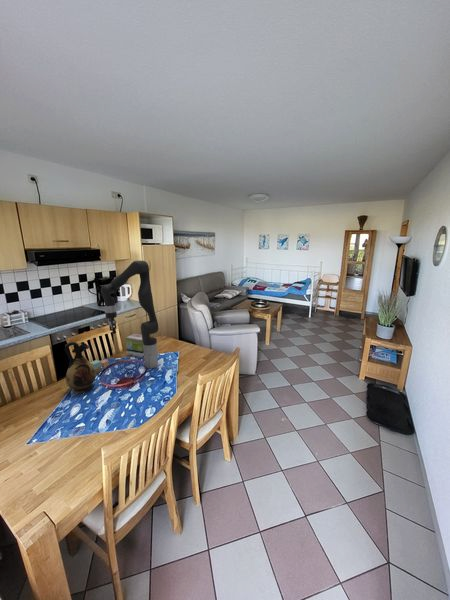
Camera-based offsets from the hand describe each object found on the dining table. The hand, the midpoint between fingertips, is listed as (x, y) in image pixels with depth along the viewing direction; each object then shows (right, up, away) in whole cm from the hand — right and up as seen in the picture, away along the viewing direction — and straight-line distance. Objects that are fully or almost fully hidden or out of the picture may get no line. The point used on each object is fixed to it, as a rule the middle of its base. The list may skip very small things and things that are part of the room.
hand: (112, 331), depth 181 cm
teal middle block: (-3, -22, -18) cm, 28 cm away
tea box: (+15, -19, +12) cm, 27 cm away
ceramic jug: (-3, -30, -35) cm, 46 cm away
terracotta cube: (-2, -24, -9) cm, 26 cm away
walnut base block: (-3, -26, -17) cm, 31 cm away
